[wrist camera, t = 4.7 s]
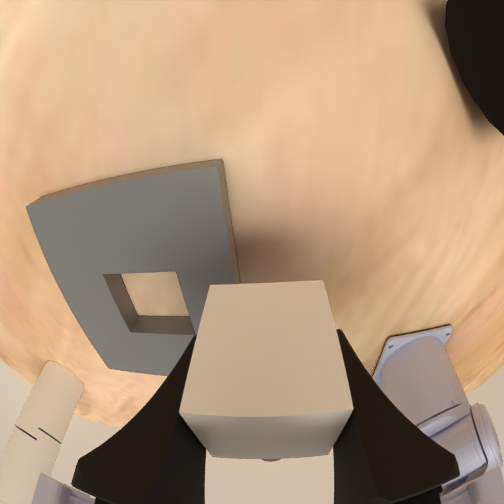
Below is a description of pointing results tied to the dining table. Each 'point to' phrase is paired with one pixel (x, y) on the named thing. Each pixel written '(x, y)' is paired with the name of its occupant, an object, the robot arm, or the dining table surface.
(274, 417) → the plug
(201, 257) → the socket plate
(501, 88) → the black white cylinder
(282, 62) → the dining table surface
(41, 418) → the cylindrical container
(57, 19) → the dining table surface
